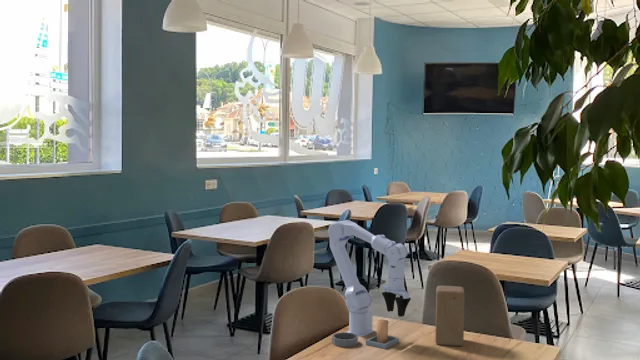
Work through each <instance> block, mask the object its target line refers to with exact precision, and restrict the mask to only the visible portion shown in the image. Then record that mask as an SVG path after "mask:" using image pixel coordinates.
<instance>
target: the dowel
mask: <svg viewBox="0 0 640 360" xmlns="http://www.w3.org/2000/svg"><path fill="white" fill-rule="evenodd" d="M376 321H377V322H376V336H377V342H378V343H382V344H386V343H388V336H389V320H387V319H378V320H376Z"/></svg>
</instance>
